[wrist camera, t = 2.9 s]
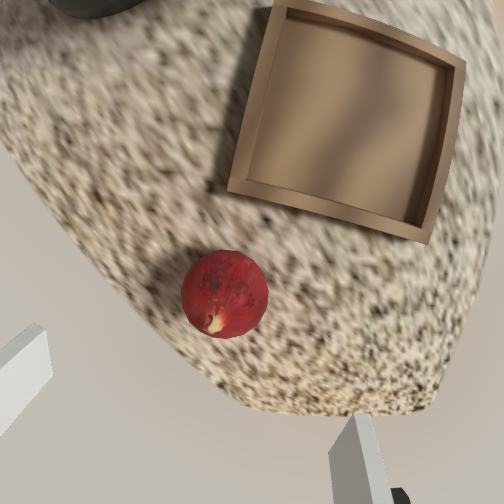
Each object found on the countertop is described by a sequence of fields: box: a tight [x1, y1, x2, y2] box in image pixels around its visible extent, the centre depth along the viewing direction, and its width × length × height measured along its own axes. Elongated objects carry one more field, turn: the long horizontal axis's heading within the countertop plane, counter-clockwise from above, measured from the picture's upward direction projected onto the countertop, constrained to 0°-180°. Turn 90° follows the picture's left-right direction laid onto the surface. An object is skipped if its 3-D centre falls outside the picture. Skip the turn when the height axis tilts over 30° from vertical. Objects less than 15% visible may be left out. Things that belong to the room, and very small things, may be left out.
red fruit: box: [181, 250, 269, 339], centre depth 21 cm, size 6×6×8 cm
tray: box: [227, 0, 466, 245], centre depth 20 cm, size 15×15×2 cm
